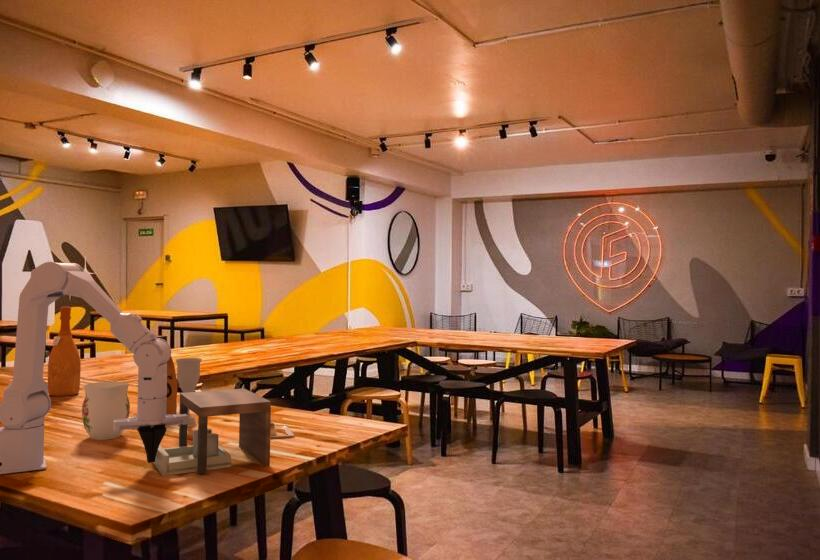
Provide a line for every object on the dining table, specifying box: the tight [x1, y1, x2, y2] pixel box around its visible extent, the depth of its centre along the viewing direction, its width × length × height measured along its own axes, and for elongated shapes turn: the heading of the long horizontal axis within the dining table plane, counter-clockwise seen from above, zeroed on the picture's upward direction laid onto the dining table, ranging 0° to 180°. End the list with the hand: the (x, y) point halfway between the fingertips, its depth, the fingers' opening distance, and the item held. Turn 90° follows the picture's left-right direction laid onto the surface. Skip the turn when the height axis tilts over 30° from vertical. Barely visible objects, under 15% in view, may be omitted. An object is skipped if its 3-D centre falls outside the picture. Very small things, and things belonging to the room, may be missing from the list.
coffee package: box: [165, 356, 178, 415], centre depth 193 cm, size 10×12×22 cm
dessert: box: [270, 420, 296, 439], centre depth 170 cm, size 12×12×5 cm
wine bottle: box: [47, 305, 82, 397], centre depth 220 cm, size 10×10×30 cm
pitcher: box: [81, 381, 131, 441], centre depth 164 cm, size 11×18×14 cm, turn 34°
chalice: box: [175, 357, 202, 428], centre depth 178 cm, size 7×7×18 cm
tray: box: [152, 427, 232, 477], centre depth 141 cm, size 14×12×6 cm
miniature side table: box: [178, 387, 272, 477], centre depth 144 cm, size 15×19×14 cm
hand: (151, 461), depth 136 cm, fingers closed
